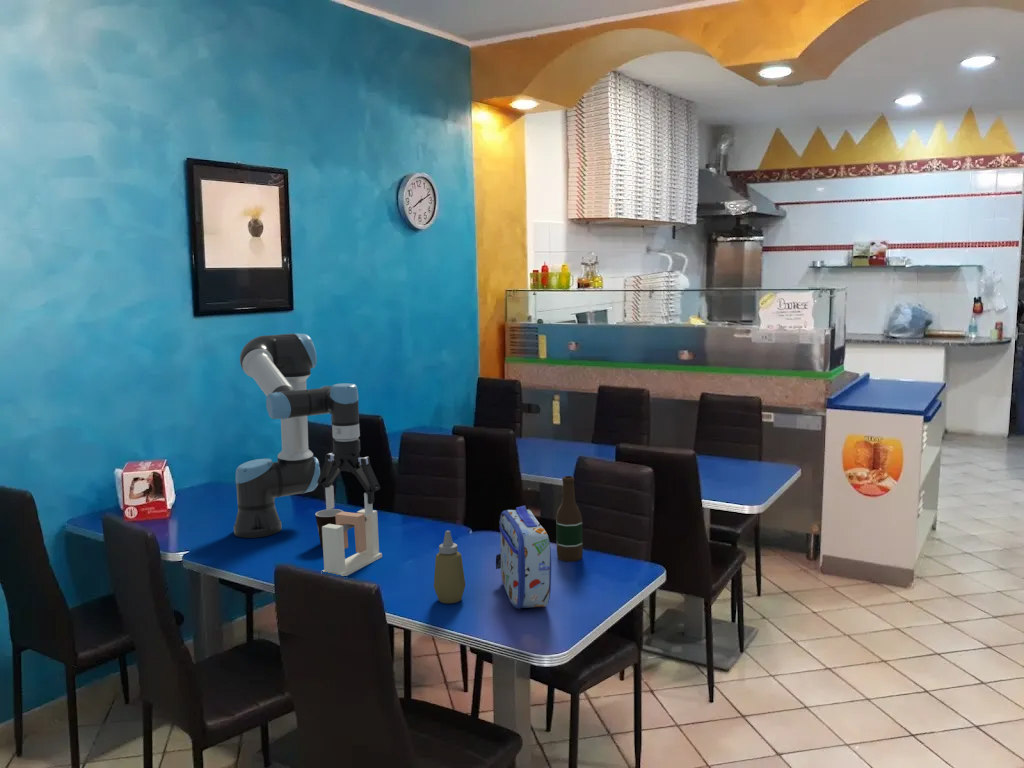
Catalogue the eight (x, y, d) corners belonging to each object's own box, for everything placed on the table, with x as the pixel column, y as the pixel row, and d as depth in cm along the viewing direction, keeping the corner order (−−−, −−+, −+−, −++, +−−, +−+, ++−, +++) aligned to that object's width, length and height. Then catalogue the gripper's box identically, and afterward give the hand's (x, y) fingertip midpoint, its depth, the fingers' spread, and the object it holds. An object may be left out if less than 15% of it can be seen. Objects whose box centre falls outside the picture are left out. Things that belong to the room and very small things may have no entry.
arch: (337, 549, 238) (335, 514, 237) (344, 546, 241) (341, 511, 240) (360, 552, 235) (358, 516, 234) (366, 549, 238) (364, 514, 236)
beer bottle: (586, 554, 243) (584, 474, 240) (579, 563, 236) (578, 480, 233) (560, 552, 246) (559, 473, 243) (553, 560, 239) (551, 479, 236)
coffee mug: (338, 549, 254) (336, 517, 253) (312, 547, 256) (310, 516, 254) (353, 537, 265) (351, 506, 264) (328, 536, 267) (326, 506, 266)
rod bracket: (321, 574, 232) (318, 526, 230) (362, 554, 249) (360, 508, 247) (341, 578, 229) (339, 529, 227) (382, 557, 246) (379, 511, 244)
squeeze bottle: (434, 594, 215) (431, 527, 213) (465, 592, 216) (463, 525, 214) (434, 606, 207) (431, 537, 205) (466, 605, 208) (464, 535, 206)
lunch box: (493, 578, 226) (491, 500, 223) (530, 575, 228) (529, 497, 225) (515, 618, 199) (513, 529, 196) (557, 614, 201) (555, 525, 198)
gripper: (302, 437, 236) (306, 509, 239) (374, 445, 225) (377, 520, 228) (319, 432, 243) (323, 503, 246) (390, 439, 232) (393, 513, 235)
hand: (349, 511), depth 237 cm, fingers open, 13 cm apart
